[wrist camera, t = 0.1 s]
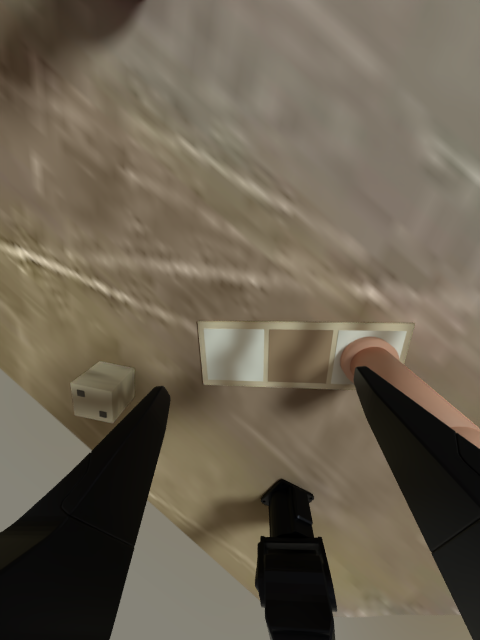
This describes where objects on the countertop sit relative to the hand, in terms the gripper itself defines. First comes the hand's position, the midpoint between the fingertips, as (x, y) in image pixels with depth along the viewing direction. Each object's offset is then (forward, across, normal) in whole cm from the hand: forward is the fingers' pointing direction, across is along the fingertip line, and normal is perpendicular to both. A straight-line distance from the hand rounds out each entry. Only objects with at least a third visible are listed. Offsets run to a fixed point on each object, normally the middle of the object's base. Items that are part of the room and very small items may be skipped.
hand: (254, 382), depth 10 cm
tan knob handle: (+12, -12, +13) cm, 21 cm away
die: (+13, +22, +12) cm, 28 cm away
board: (+13, -4, +12) cm, 18 cm away
